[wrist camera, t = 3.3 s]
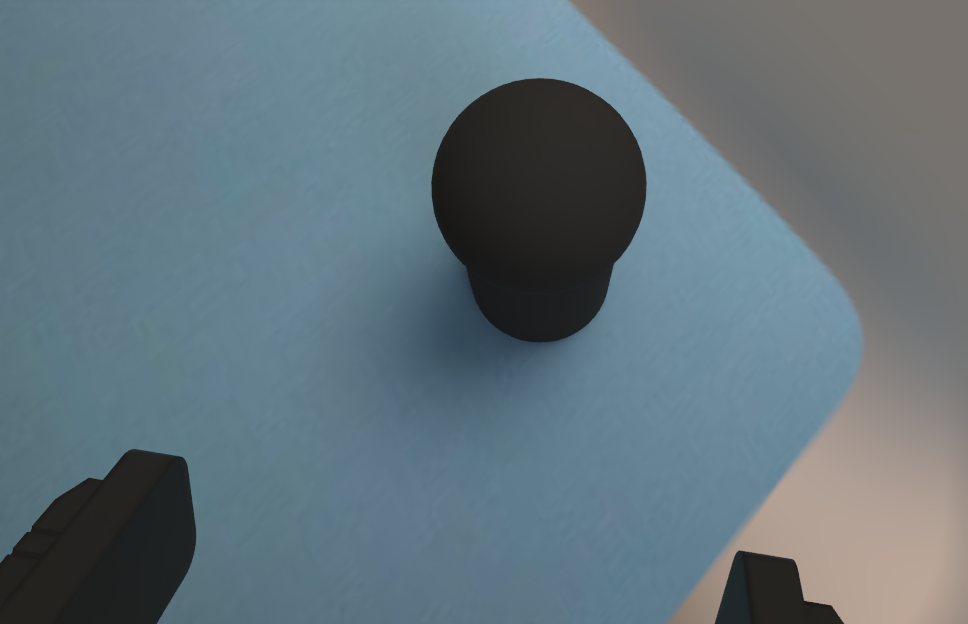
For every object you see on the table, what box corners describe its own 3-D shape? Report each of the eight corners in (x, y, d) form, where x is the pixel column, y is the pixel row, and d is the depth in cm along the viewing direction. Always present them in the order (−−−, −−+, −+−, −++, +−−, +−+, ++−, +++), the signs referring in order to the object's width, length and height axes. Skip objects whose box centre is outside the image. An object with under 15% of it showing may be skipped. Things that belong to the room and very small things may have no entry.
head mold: (654, 262, 28) (708, 120, 19) (553, 388, 27) (557, 303, 18) (527, 170, 29) (518, -7, 20) (425, 288, 28) (368, 160, 19)
